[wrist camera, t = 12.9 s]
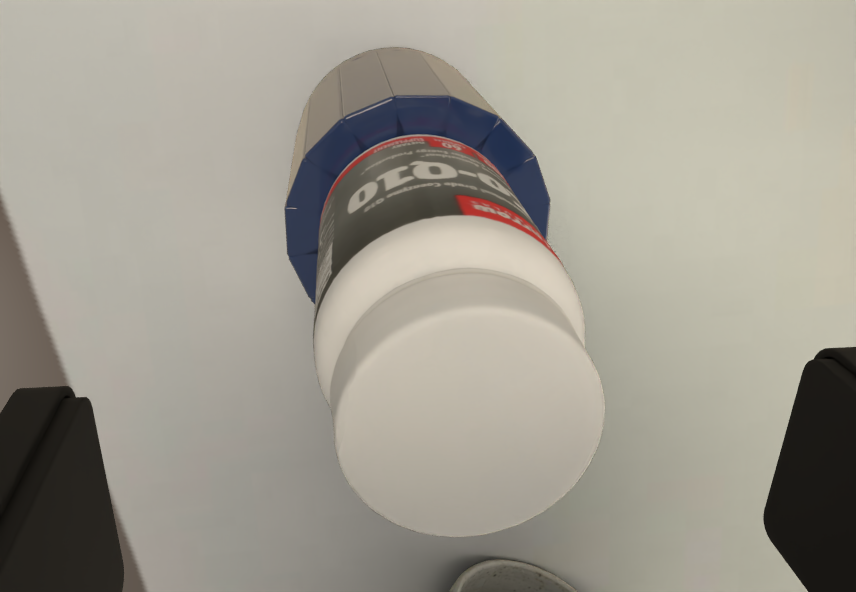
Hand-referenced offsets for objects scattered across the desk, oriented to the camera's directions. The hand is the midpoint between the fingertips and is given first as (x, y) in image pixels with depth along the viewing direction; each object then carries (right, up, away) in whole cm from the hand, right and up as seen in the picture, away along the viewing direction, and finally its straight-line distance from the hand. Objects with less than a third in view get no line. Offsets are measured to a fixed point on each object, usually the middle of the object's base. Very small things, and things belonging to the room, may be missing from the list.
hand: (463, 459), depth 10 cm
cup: (-2, +7, +16) cm, 17 cm away
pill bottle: (-1, +4, +9) cm, 9 cm away
